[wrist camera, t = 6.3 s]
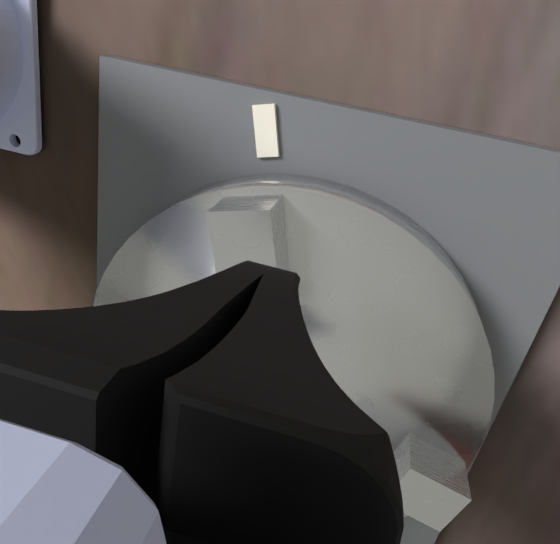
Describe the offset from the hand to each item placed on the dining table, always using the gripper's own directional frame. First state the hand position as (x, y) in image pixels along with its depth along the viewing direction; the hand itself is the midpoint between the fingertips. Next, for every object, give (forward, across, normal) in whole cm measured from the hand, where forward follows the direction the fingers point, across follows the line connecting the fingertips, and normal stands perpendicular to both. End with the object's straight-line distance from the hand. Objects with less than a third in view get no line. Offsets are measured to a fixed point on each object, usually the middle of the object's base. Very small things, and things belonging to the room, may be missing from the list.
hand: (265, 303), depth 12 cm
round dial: (+7, 0, +7) cm, 10 cm away
